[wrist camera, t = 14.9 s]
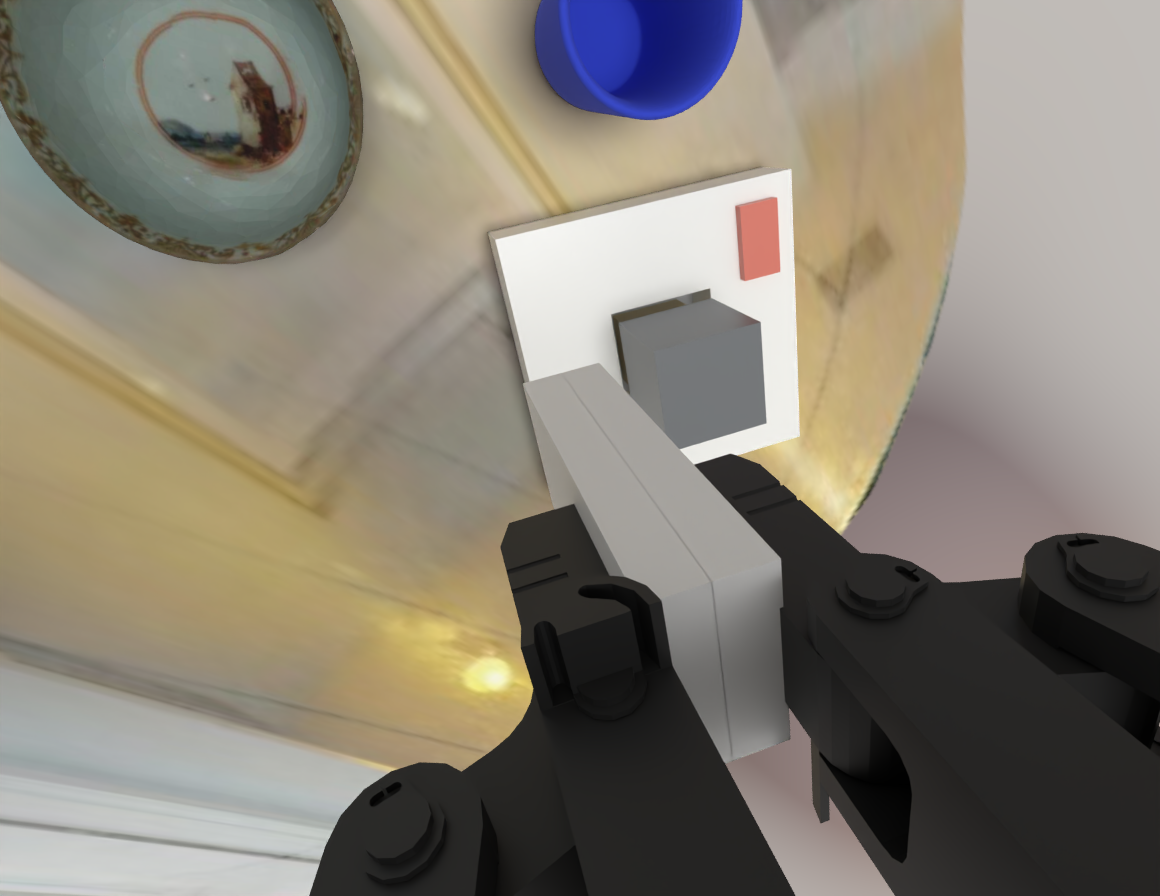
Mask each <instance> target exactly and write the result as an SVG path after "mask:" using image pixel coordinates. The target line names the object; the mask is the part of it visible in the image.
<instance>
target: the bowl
mask: <svg viewBox="0 0 1160 896" xmlns="http://www.w3.org/2000/svg"><path fill="white" fill-rule="evenodd" d="M0 101H1V104H2V106H3V108H4V110H5V112H6V114H7V117H8V119H9V120H10V122H11V124H12V125H13V127H14V129H15V130H16V132H17V134H18V136H19V137H20V139H21V140H22V142H23V143H24V145H25V146H26V148H27V149H28V151H29V152H30V154H31V155H32V157H33V158H34V159H35V161H36V162H37V163H38V164H39V166H40V167H41V168H42V169H43V171H44V172H45V173H46V174H47V175H48V176H49V177H50V178H51V179H52V181H53V182H54V183H55V184H56V185H57V186H58V187H59V188H60V189H61V190H62V191H63V192H64V193H65V194H66V195H67V196H68V197H69V198H70V199H71V200H73V201H74V202H75V203H76V204H77V205H78V206H79V207H81V208H82V209H83V210H84V211H86V212H87V213H88V214H89V215H91V216H92V217H93V218H95V219H96V220H98V221H99V222H101V223H102V224H104V225H105V226H107V227H108V228H110V229H112V230H113V231H115V232H117V233H118V234H120V235H122V236H124V237H125V238H127V239H130V240H132V241H134V242H137V243H139V244H141V245H143V246H146V247H148V248H150V249H152V250H155V251H159V252H162V253H165V254H168V255H172V256H175V257H178V258H182V259H187V260H192V261H200V262H207V263H214V264H236V263H243V262H250V261H254V260H259V259H264V258H268V257H272V256H275V255H278V254H281V253H283V252H284V251H286V250H288V249H290V248H291V247H293V246H294V245H296V244H297V243H299V242H300V241H302V240H303V239H305V238H307V237H308V236H309V235H311V234H312V233H313V232H314V231H316V230H317V229H318V228H319V227H321V226H322V225H323V224H324V223H326V221H327V220H328V219H329V218H330V217H331V216H332V214H333V213H334V212H335V211H336V210H337V208H338V207H339V205H340V204H341V202H342V200H343V199H344V197H345V195H346V193H347V191H348V189H349V187H350V185H351V182H352V180H353V176H354V173H355V170H356V166H357V163H358V160H359V155H360V151H361V146H362V133H363V98H362V91H361V83H360V76H359V70H358V67H357V63H356V59H355V55H354V52H353V48H352V45H351V42H350V39H349V36H348V33H347V31H346V28H345V25H344V23H343V21H342V19H341V17H340V15H339V13H338V11H337V9H336V7H335V5H334V3H333V1H332V0H0Z"/></svg>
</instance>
